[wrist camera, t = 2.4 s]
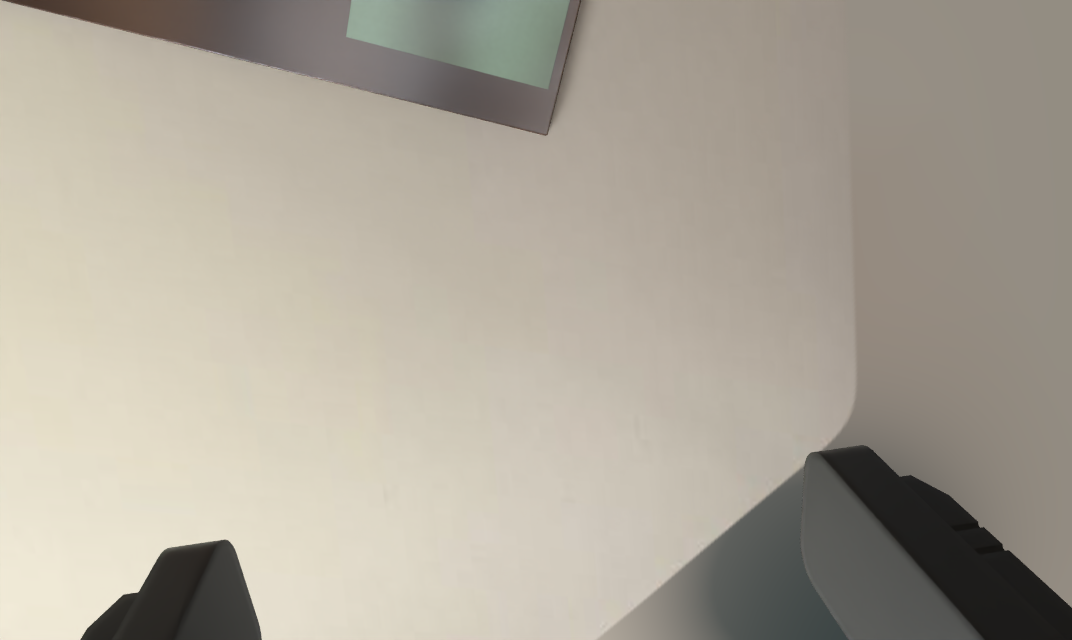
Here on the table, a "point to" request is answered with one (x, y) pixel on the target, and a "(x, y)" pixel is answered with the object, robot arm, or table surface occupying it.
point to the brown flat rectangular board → (376, 45)
